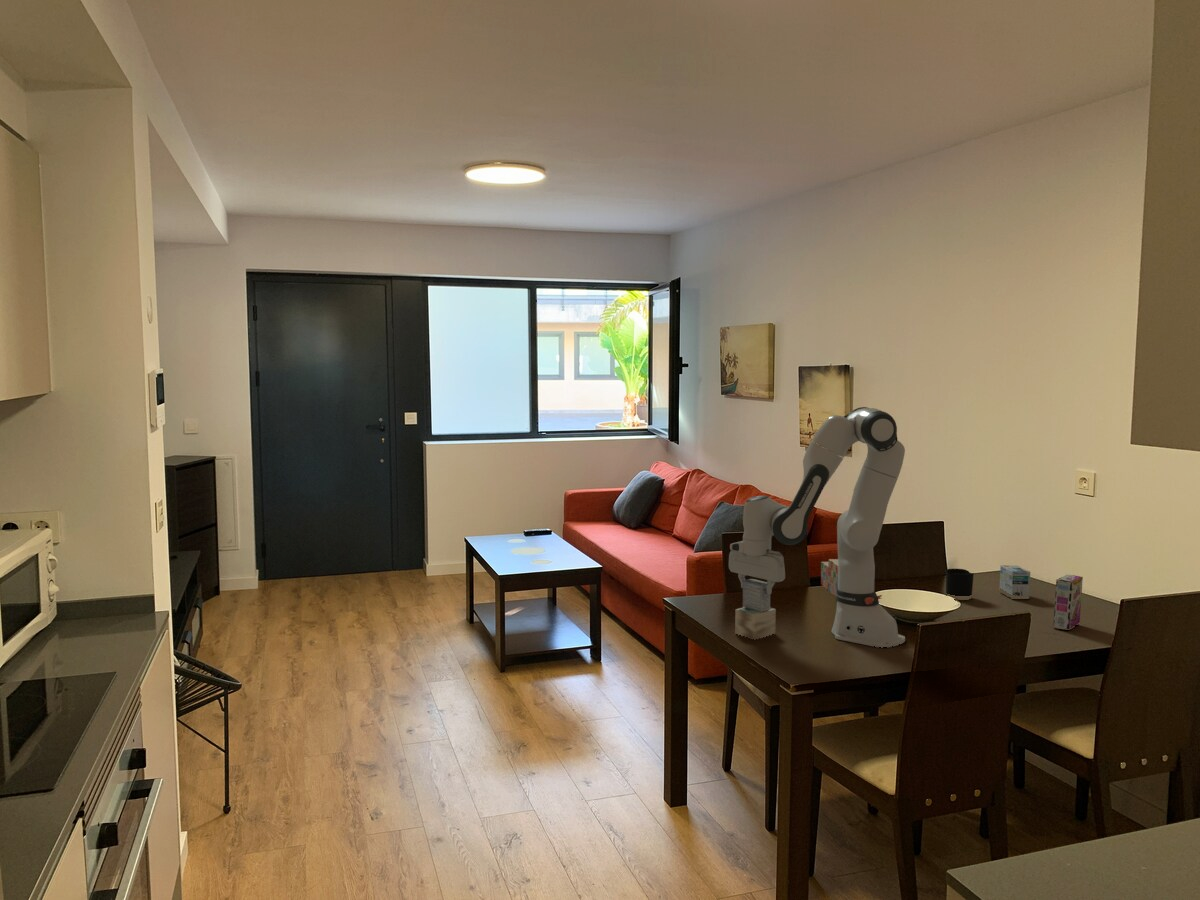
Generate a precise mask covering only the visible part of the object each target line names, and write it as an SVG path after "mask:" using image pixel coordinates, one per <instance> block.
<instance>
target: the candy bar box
mask: <svg viewBox="0 0 1200 900" xmlns="http://www.w3.org/2000/svg"><path fill="white" fill-rule="evenodd" d="M1055 580H1056V581H1055V582H1056V583H1055V598H1054V612H1053V613H1054V614H1053V626H1055V627H1059V628H1065V629H1070V628H1072V627H1073V626H1075V625H1077V624H1078V623H1079V622H1080V623H1081V607H1082V606H1081V605H1082V594H1083V593H1082V592H1083V576H1081V575H1076V574H1075V575H1073V574H1066V575H1064V576H1061V577H1059V578H1056V579H1055Z"/></svg>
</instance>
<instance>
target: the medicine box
mask: <svg viewBox="0 0 1200 900" xmlns="http://www.w3.org/2000/svg"><path fill="white" fill-rule="evenodd" d="M767 586H768V583H767V581H764V580H763V581H762V580H759V579H754V578H749V579H745V581H743V588H742V608H743V607H745V608H749V609H753V610H756V611H760V612H763V611H767V610H770V607H771V594H766V593H764V591H765V590H764V589H765V588H767Z"/></svg>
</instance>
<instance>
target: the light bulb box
mask: <svg viewBox="0 0 1200 900" xmlns="http://www.w3.org/2000/svg"><path fill="white" fill-rule="evenodd" d="M999 568H1000V569H999V570H1000V572H999V589H1000V588H1001V589H1003V590H1004V591H1006V592H1007V593H1009V594H1011V595H1015V596H1016V595H1017V596H1029V597H1030V596H1031V595H1030V589H1031V585H1030V584H1031V571H1030V570H1028V569H1026V568H1023V567H1020V566H1019V565H1011V564H1009V565H1006V564H1000V567H999Z"/></svg>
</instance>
